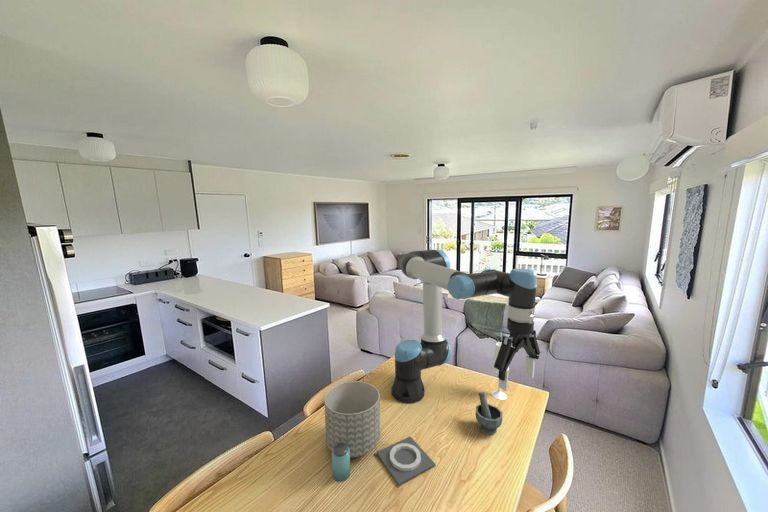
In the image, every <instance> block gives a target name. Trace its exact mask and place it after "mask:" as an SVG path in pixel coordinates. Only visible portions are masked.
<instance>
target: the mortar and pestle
mask: <svg viewBox="0 0 768 512" xmlns="http://www.w3.org/2000/svg"><path fill="white" fill-rule="evenodd" d="M486 395H487V394H486V392H485V391H481V392H480V391H479V392H478V397H479V402H480V403H479V405H477V406H476V407H475V419H476V421H477V423H478V424H479V429H480V430H481V432H483V433H485V434H487V435H495V434H496V433H497V430H498V428H500V427H501V425H502V424H503V423H502V422H503V411H501V410H500V408H499V407H498V406H496V405H495V406H494V405H492V404H489V403H488V401H487V397H486Z"/></svg>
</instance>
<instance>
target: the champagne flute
mask: <svg viewBox="0 0 768 512" xmlns="http://www.w3.org/2000/svg"><path fill="white" fill-rule="evenodd" d="M495 343H496V344H495V349H494V355H493V362H492V369H493V371H494V372H495V373H496V374H497V375H498V376H499V370H498V369H496V368H494V364H495V361H496V359H497V356H498V353H499V350H500V347H501V344H502V341H501V342H500V341H499V342H495ZM507 370H508V371H509V372H510V366H509V367H508V369H507ZM497 386H499V383H498V385H497ZM490 394H491V396H492V397H493V398H494V399H496V400H499V401H505V400H507V399H508V395H507V394H506V393H505V392H503V391H502V389H501V388H499V387H498V389H497V390H494V391H492V392H491V393H490Z"/></svg>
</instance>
